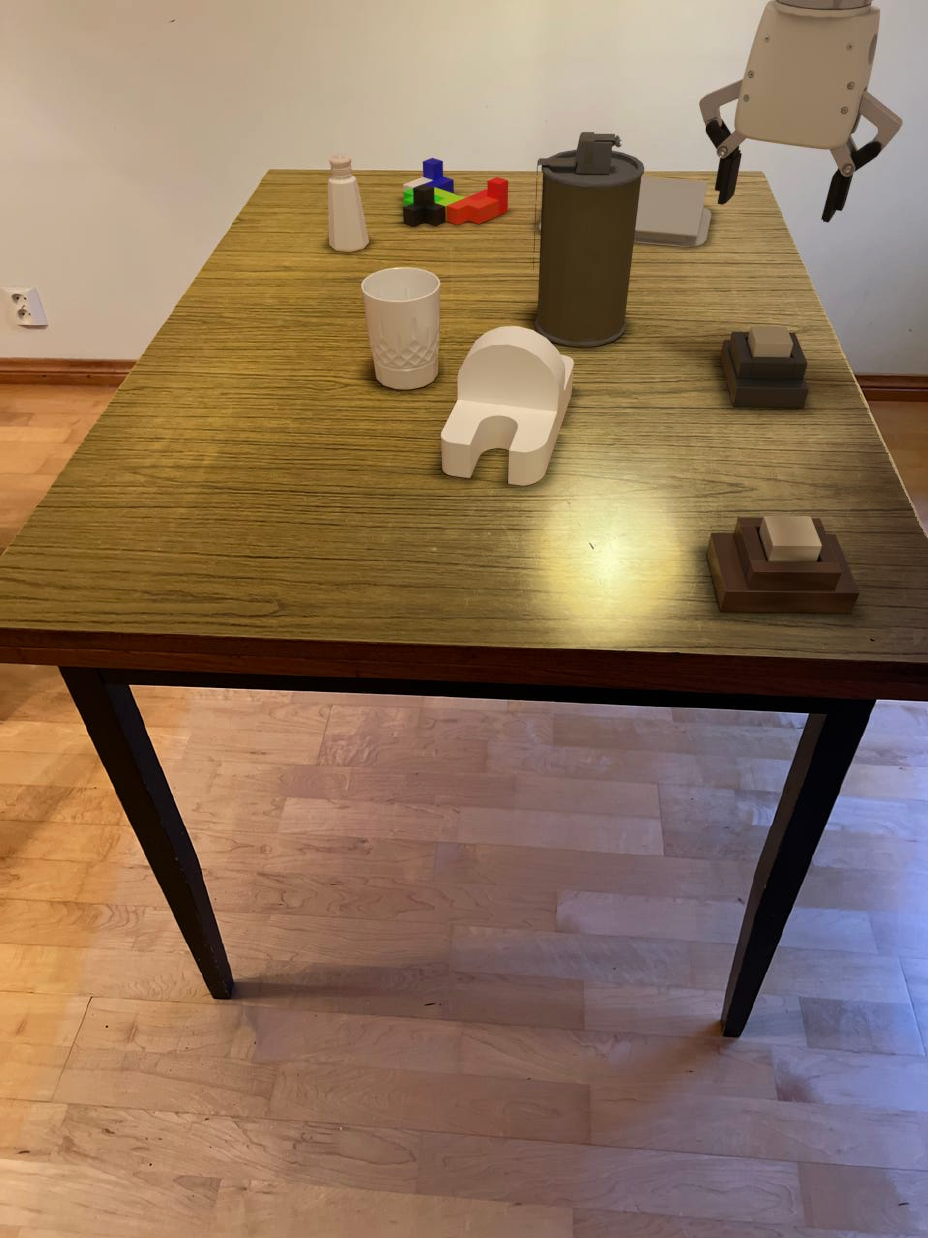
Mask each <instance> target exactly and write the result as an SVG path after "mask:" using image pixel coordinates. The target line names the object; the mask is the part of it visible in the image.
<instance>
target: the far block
mask: <svg viewBox="0 0 928 1238" xmlns="http://www.w3.org/2000/svg"><path fill="white" fill-rule="evenodd" d="M749 332H750V331H731V334H730V338H729V339H723V341H722V345H721V346H722V347H721V351H720V356H719V359H720V363H721V366H722V370H723V374H724V377H725V381H726V385H727V388H728V393H729V396H730V400H731V404H732V406H733V407H737V408H739V407H740V408H775V409H777V408H778V409H779V408H780V409H781V408H783V409H785V408H787V409H804V408H805V404H806V401H807V398H808V394H809V391H810V388H809V385H808V383H807V380H806V378H805V374H806V371H807V368H808V361H807V358H806V356H805V354H804V351H803V348H802V346H801V344H800V342H799V339H798V337H797V334H796V332H789V335H790V337H791V340H792V342H793V346H792V350H791V354H790V357H752V355H751V352H750V349H749V345H748V342H747V341H748V337H749Z"/></svg>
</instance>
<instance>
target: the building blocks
mask: <svg viewBox="0 0 928 1238" xmlns="http://www.w3.org/2000/svg"><path fill="white" fill-rule="evenodd" d="M486 188H487V189H483V190H480V191H478V192H476V193H473V194H471V195H469V196H466V197H465V196H462V195H459V194H456V193H455V179H453V178H450V177H447V176H444V161H443V160H441V159H438V158H434V157H431V158H428V159H426V160H425V159H424V160H423V161H422V176H421V177H419V178H416V179H414V180H411V181H408V182H405V183H403V184H402V189H403V200H402V201H403V206H402V215H403V217H402V219H403V223H404V224H407V225H410V226H412V227H416V226H418V225H420V224H423V223H426V224H430V225H433V226H438V225H440V224H443V223H445V222H447V223H451V224H453V225H457V226H459V225H461V224H463V223H466V222H471V223H474V224H476V225H481V224H484V223H486V222H487V221H489V220H492V219H494V218H497V217H499V216H501V215H503V214H505V213H507V212H508V211H509V180H508V179H506V178H502V177H498V176H496V177H493V178H490V179H489V180H487V187H486Z"/></svg>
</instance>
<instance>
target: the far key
mask: <svg viewBox="0 0 928 1238" xmlns="http://www.w3.org/2000/svg"><path fill="white" fill-rule="evenodd" d="M748 332H749V337H748V341H747V342H748V345H749V349H750V352H751V355H752V357H790V354H791V350H792V346H793V342H792V340H791V337H790V335H789V333H790V331H789V330H788V327H787V326H757V325H756V326H755V325H753V326H750V328H749V331H748Z"/></svg>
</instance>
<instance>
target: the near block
mask: <svg viewBox="0 0 928 1238" xmlns="http://www.w3.org/2000/svg"><path fill="white" fill-rule="evenodd" d="M811 519H812V521H813V524H814V527H815V529H816V532H817V534H818V537H819V539H820V542H821V544H822V547H821V550H820V553H819V556H818V559H817V562H792V561H768V560H767V557H766V554H765V551H764V547H763V544H762V541H761V538H760V535H759V531H760V527H761V523H762V520H763V516H761V517H760V516H758V517H756V516H755V517H754V516H753V517H750V516H743V517H742V516H738V517H737V519H736V521H735V526H734V530H733V532H710V535H709V539H708V544H707V548H706V557H707V561H708V566H709V570H710V573H711V578H712V582H713V586H714V591H715V595H716V599H717V602H718V607H719V611H720V612H726V613H727V612H733V613H734V612H735V613H737V612H739V613H741V612H742V613H743V612H744V613H799V614H800V613H801V614H802V613H805V614H806V613H808V614H811V613H812V614H852V613H853V610H854V607H855V605H856V603H857V600H858V599H859V596H860V589H859V588H858V586H857V583H856V581H855V578H854V576H853V573H852V571H851V569H850V566H849V564H848V561H847V559H846V556H845V554H844V552H843V549H842V547H841V544H840V542H839V539H838V537H837V535H836V533H827V532H826V529H825V527H824V523H823V521H822V519H821V517H811Z"/></svg>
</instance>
